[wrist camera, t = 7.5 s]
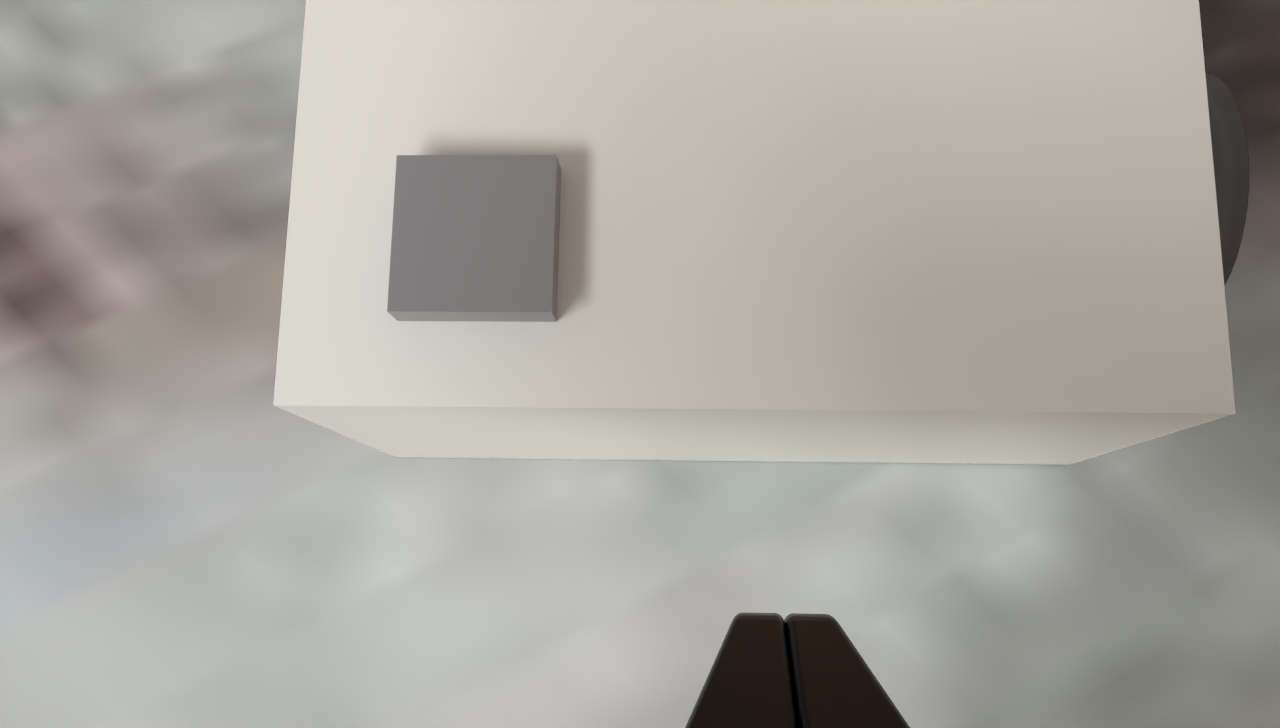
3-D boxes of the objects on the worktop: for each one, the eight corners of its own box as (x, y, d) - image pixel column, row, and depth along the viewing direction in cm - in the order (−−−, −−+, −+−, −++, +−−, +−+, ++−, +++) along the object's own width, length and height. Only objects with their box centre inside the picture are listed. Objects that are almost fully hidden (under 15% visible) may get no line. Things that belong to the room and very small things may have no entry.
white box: (1129, 465, 23) (1346, 408, 15) (396, 457, 23) (257, 398, 16) (1100, 57, 24) (1283, -174, 17) (419, 62, 25) (305, -159, 18)
